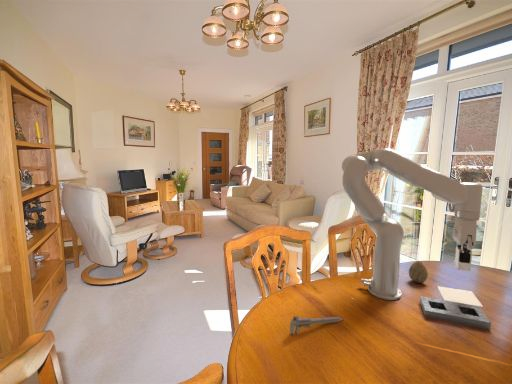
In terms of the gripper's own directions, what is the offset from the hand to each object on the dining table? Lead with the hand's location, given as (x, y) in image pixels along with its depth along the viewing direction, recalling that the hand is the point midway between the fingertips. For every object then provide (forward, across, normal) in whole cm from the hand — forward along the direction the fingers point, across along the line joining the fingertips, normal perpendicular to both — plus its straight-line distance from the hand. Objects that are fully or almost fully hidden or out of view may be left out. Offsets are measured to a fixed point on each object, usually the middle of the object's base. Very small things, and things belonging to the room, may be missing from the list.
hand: (462, 259), depth 102 cm
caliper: (+16, +40, -49) cm, 65 cm away
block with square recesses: (+16, +16, -6) cm, 23 cm away
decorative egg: (+16, -8, -13) cm, 22 cm away
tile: (+16, 0, 0) cm, 16 cm away
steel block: (+3, 0, 0) cm, 3 cm away
